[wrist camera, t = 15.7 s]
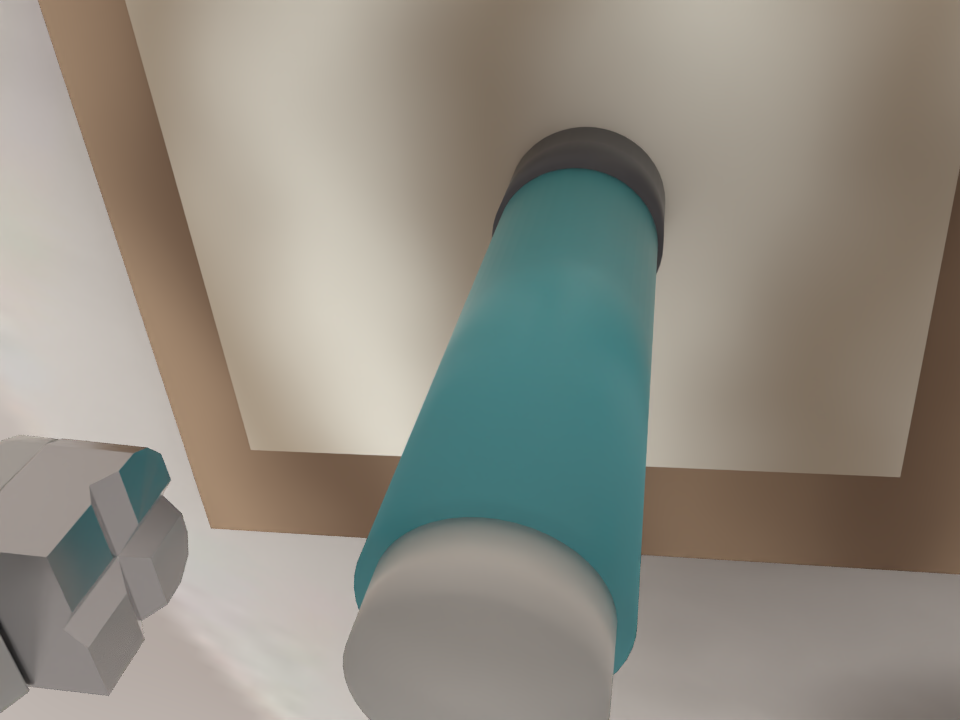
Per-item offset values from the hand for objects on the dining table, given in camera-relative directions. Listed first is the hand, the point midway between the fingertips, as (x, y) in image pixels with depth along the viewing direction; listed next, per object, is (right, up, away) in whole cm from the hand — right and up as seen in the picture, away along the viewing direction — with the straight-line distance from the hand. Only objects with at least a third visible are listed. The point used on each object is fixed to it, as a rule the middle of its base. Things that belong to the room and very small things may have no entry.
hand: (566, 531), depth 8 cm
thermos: (+1, +5, +10) cm, 11 cm away
